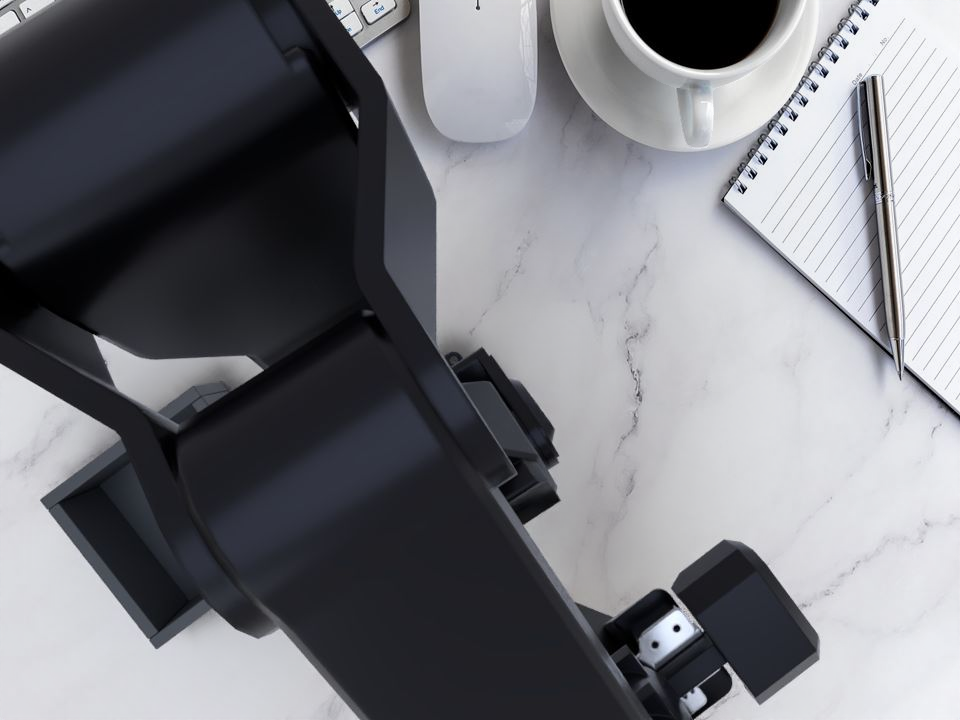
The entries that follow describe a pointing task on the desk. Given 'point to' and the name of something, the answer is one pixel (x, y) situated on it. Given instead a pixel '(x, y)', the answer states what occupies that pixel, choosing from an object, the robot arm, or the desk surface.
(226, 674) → the desk surface
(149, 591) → the waste bin
